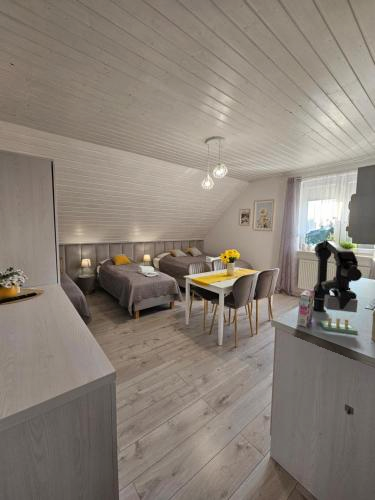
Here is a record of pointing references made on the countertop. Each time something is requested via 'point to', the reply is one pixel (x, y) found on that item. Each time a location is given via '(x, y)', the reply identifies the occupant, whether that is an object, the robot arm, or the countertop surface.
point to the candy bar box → (305, 308)
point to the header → (338, 326)
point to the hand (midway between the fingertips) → (339, 307)
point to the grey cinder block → (334, 304)
